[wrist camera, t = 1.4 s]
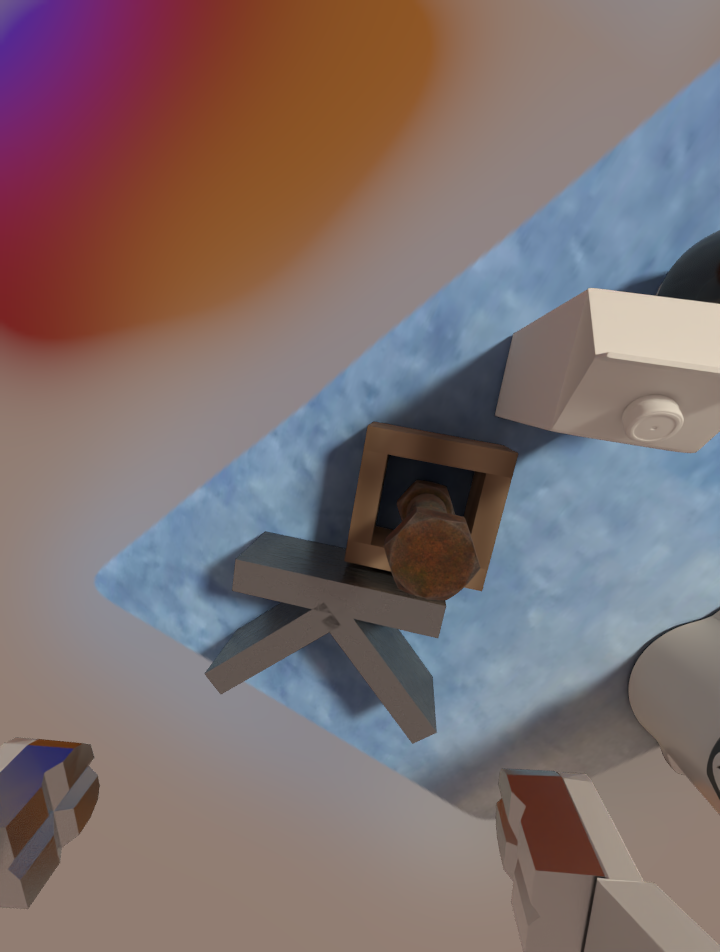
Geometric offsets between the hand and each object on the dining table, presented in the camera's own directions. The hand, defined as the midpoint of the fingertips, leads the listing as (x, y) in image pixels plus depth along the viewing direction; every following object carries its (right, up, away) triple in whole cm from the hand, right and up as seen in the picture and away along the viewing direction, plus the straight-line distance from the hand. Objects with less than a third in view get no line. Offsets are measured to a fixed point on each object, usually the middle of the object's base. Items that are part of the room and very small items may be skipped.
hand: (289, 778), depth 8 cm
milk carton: (+17, +14, +27) cm, 35 cm away
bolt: (+8, +4, +30) cm, 31 cm away
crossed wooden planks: (-1, -8, +33) cm, 34 cm away
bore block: (+8, +4, +30) cm, 31 cm away
